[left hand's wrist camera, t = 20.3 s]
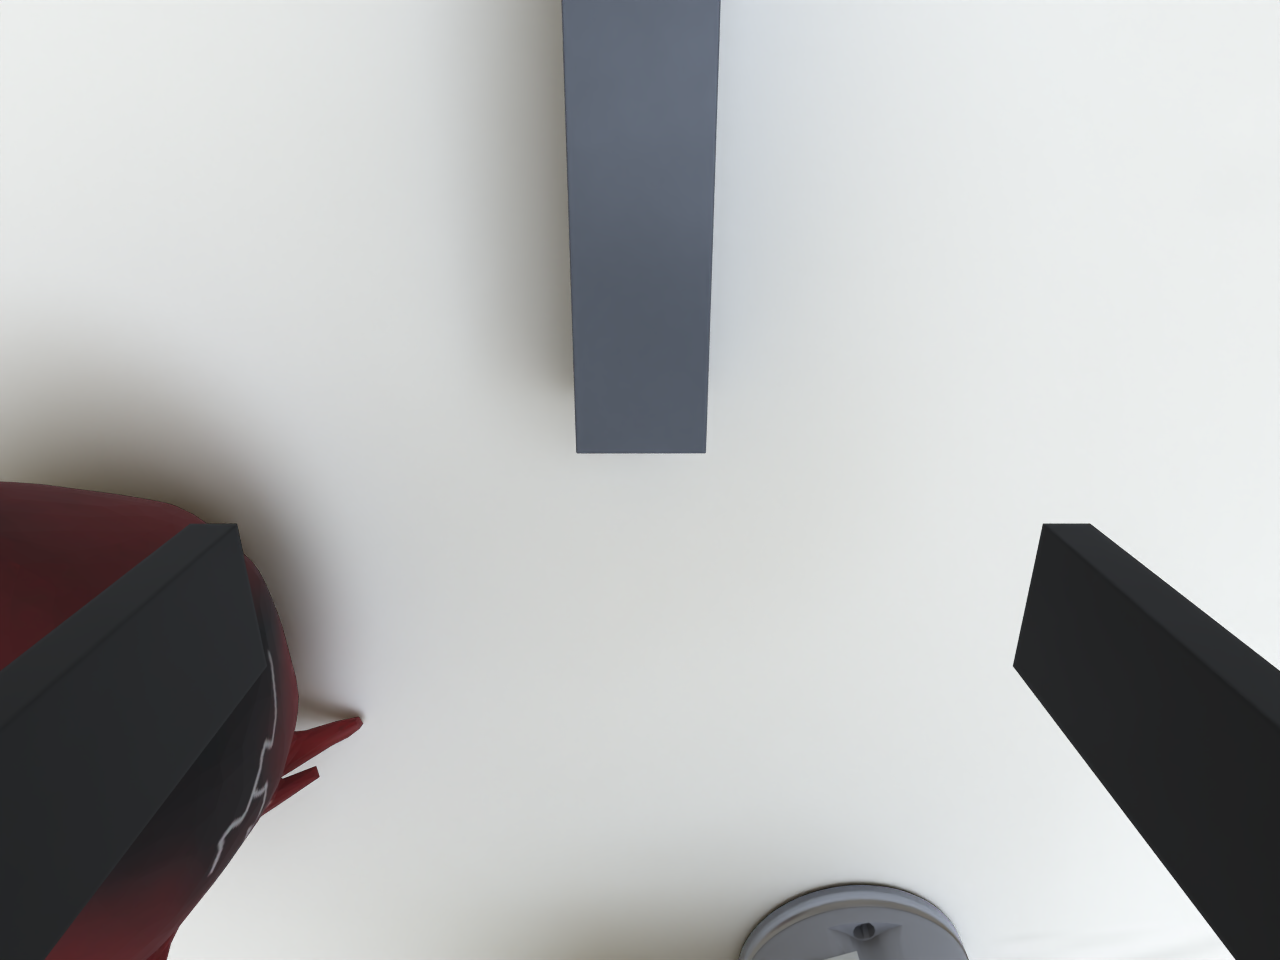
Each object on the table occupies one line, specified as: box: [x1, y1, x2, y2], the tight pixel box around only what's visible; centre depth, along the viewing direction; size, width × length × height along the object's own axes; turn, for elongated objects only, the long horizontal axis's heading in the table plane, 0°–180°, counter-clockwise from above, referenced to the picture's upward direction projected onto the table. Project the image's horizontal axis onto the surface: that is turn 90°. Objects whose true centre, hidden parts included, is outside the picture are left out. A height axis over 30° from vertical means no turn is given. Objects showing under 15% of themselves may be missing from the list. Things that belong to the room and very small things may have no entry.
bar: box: [562, 0, 721, 453], centre depth 29 cm, size 27×5×8 cm, turn 0°
